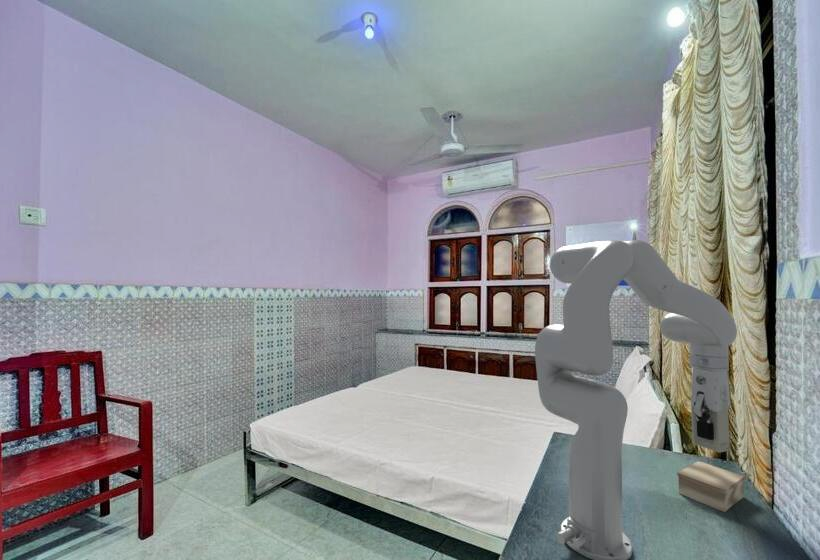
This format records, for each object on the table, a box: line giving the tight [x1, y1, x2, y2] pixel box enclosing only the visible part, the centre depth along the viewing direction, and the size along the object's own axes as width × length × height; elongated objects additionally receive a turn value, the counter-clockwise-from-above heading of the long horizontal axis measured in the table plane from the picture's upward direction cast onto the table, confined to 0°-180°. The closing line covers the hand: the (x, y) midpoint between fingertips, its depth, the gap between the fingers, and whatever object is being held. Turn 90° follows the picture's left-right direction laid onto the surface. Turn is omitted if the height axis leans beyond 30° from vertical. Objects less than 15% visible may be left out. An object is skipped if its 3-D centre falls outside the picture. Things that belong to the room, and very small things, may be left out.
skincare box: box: [690, 394, 731, 453], centre depth 90 cm, size 6×4×12 cm
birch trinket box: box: [676, 460, 746, 513], centre depth 90 cm, size 12×9×5 cm
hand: (710, 435), depth 90 cm, fingers closed on skincare box, 5 cm apart
